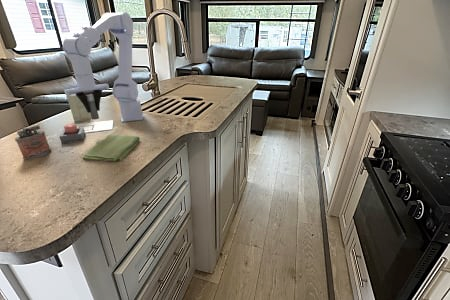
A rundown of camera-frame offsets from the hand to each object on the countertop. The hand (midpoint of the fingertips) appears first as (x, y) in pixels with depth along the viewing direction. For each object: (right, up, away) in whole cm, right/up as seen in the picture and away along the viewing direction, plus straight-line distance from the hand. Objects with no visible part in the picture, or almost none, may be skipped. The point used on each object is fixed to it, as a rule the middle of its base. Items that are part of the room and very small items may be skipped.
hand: (93, 111), depth 91 cm
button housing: (-8, -11, +1) cm, 13 cm away
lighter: (-12, -17, -11) cm, 24 cm away
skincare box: (-17, -1, +21) cm, 27 cm away
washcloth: (+12, -15, -7) cm, 21 cm away
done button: (-8, -8, 0) cm, 11 cm away
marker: (0, -3, +1) cm, 3 cm away
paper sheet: (-7, -5, +12) cm, 15 cm away
